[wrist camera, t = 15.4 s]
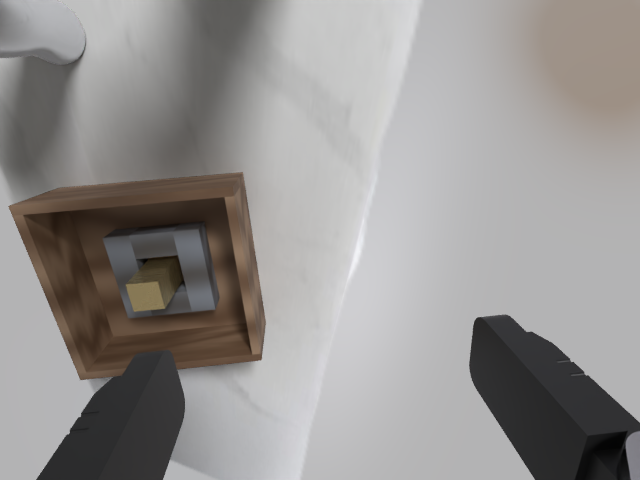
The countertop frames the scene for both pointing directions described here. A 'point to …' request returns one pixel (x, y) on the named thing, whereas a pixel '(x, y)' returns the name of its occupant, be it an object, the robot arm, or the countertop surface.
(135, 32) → the countertop surface
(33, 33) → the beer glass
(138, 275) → the tan wooden block
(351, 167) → the countertop surface
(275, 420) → the countertop surface
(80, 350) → the walled box
